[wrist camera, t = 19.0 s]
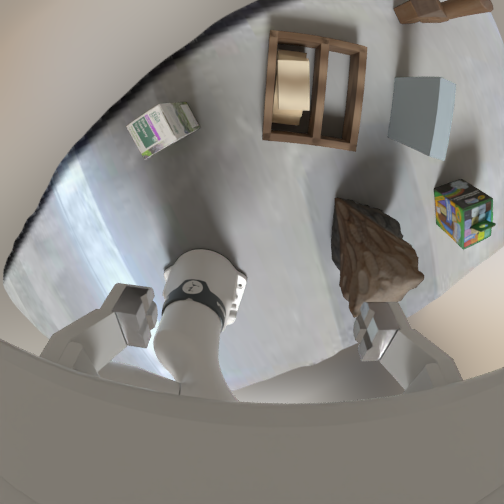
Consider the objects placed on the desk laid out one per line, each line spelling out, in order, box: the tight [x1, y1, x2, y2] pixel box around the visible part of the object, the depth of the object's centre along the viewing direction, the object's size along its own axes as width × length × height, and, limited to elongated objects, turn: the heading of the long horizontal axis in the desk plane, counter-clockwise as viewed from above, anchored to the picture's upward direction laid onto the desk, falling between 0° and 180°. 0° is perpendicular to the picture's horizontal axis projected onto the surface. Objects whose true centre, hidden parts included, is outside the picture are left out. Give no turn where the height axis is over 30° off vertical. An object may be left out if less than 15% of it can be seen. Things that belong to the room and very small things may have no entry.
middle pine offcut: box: [272, 54, 309, 117], centre depth 37 cm, size 10×5×2 cm, turn 175°
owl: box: [331, 198, 424, 317], centre depth 45 cm, size 13×13×20 cm
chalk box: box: [434, 179, 496, 250], centre depth 42 cm, size 9×9×15 cm
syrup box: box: [126, 102, 200, 160], centre depth 37 cm, size 6×6×14 cm
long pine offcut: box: [272, 49, 307, 126], centre depth 39 cm, size 13×5×2 cm, turn 176°
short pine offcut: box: [277, 60, 310, 111], centre depth 35 cm, size 8×5×2 cm, turn 2°
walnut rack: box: [262, 30, 367, 152], centre depth 37 cm, size 18×15×5 cm
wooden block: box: [394, 0, 493, 24], centre depth 20 cm, size 4×11×18 cm, turn 114°
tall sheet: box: [388, 77, 456, 161], centre depth 33 cm, size 12×3×15 cm, turn 177°
